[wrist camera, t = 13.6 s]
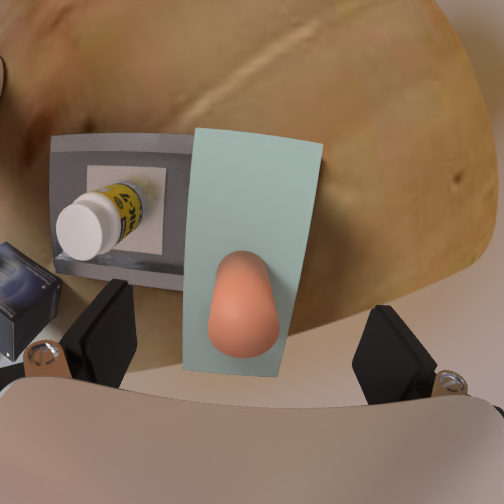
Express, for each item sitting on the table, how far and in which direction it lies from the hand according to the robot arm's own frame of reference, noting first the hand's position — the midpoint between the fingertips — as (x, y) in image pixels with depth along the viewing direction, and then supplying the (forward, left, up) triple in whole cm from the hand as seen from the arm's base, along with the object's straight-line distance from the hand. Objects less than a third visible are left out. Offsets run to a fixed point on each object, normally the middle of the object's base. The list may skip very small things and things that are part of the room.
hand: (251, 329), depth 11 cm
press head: (0, 0, -15) cm, 15 cm away
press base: (-7, 0, -18) cm, 19 cm away
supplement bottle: (-11, 0, -16) cm, 20 cm away
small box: (-26, -10, -18) cm, 34 cm away
